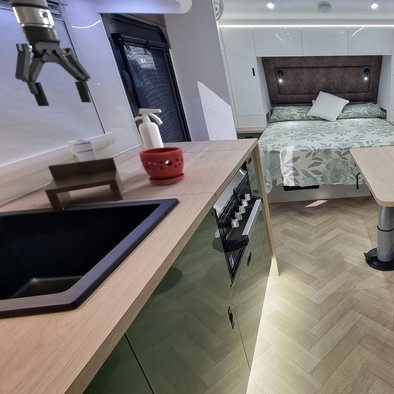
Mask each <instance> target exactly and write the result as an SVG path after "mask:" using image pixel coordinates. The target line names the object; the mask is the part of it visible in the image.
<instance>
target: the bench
mask: <svg viewBox="0 0 394 394" xmlns="http://www.w3.org/2000/svg"><path fill="white" fill-rule="evenodd" d="M47 168H48V170H49V172H50V174H51V177H52V179H51V181H50V183H49V184H48V185H47V186H46V188H45V189H44V193H45V195H46V197H47V199H48V201H49V203H50V206H51V208H52V211H53V212H54V213H55V214H56V213H60V212H63V211H62V210H63V208H64V207H65V206H66V207H67V205H68V203H69V201H70V199H71V193H70V192H75V191H79V190H80V191H81V190H85V189H86V190H87V189H93V188H99V187H103V186H109V189H110V192H111V194H112V197H113V200H114V202H119V201H123V200H124V186H123V183H122V180H121V177H120V174H119V171H118V168H117V165H116V162H115V159H114V157H105V158H97V159H96V160H88V161H80V162H75V161H73V162H66V163H58V164H51V165H48V166H47ZM66 207H65V208H66Z"/></svg>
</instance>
